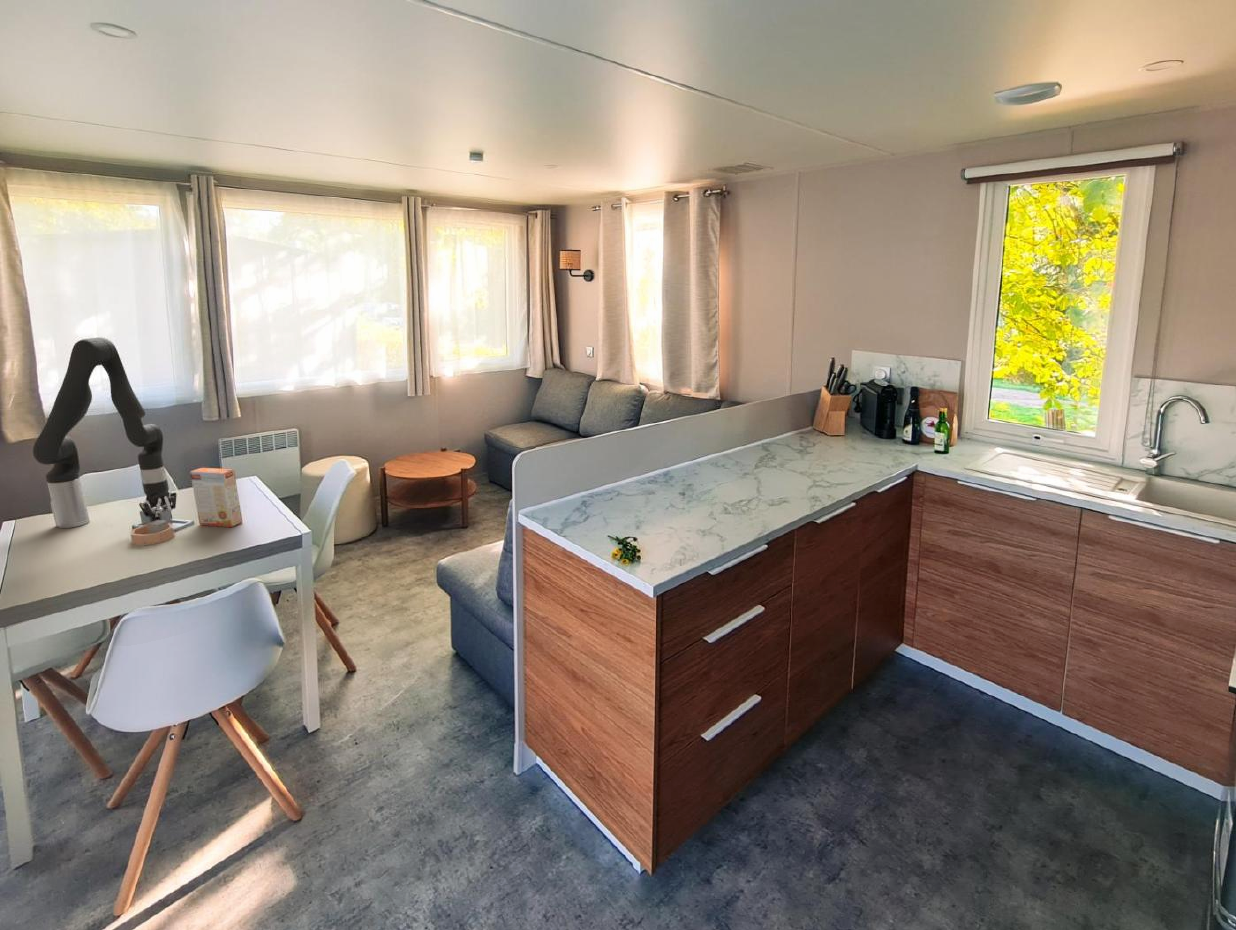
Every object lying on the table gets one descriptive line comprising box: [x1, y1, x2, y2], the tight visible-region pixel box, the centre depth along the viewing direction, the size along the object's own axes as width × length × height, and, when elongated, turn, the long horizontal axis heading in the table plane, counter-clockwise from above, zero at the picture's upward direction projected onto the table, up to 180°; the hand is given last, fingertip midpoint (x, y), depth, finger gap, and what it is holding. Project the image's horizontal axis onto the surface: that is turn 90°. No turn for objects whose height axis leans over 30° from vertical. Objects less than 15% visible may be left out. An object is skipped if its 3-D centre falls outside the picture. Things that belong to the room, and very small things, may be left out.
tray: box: [131, 518, 195, 533], centre depth 241 cm, size 18×9×1 cm, turn 78°
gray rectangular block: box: [154, 508, 173, 524], centre depth 240 cm, size 4×4×6 cm
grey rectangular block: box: [148, 520, 168, 534], centre depth 228 cm, size 4×4×6 cm
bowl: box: [130, 523, 175, 546], centre depth 229 cm, size 12×12×4 cm
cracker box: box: [189, 467, 243, 528], centre depth 241 cm, size 14×6×21 cm, turn 78°
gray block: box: [139, 510, 153, 526], centre depth 241 cm, size 4×4×6 cm
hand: (163, 523), depth 241 cm, fingers open, 4 cm apart
